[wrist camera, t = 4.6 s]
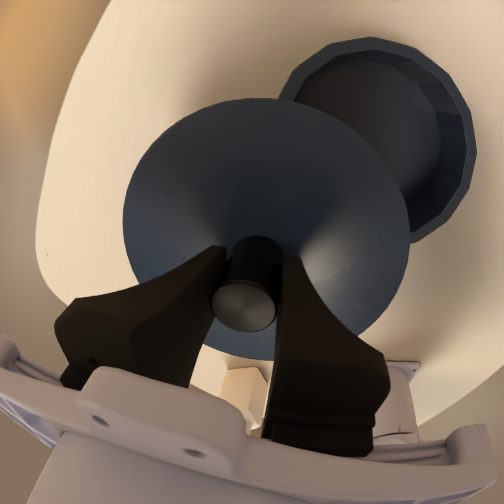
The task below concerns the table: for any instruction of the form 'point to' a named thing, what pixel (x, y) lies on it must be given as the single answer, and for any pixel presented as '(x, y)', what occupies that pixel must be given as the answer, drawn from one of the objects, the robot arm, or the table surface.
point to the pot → (397, 119)
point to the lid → (269, 215)
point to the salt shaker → (246, 394)
